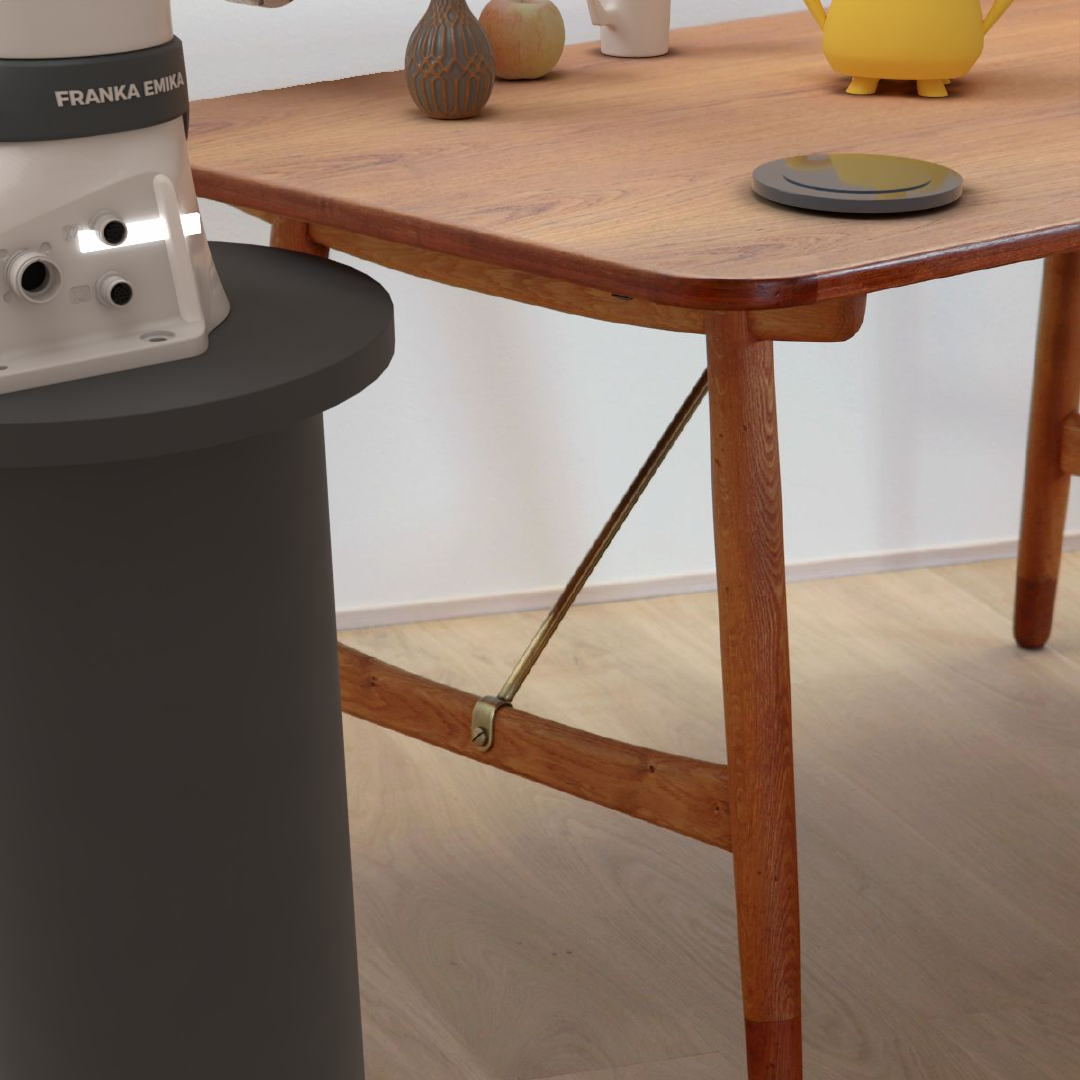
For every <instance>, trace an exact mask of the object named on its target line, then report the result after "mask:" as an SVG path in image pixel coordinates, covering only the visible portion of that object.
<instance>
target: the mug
mask: <svg viewBox="0 0 1080 1080" xmlns="http://www.w3.org/2000/svg"><path fill="white" fill-rule="evenodd" d="M671 2H672V0H586V5H587V9H588V14H589V17H590V22H591V24H592V25H593V26H597V27H599V29H600V30H599V33H600V34H599V35H600V51H601V53H602V54H603V55H606V56H610V57H617V58H618V57H619V58H651V57H657V56H664V55H666V54H667V53H668V52H669V45H670V43H669V42H670V28H671V27H670V25H671V8H672V7H671V5H672V3H671Z"/></svg>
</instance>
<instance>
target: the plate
mask: <svg viewBox="0 0 1080 1080" xmlns="http://www.w3.org/2000/svg"><path fill="white" fill-rule="evenodd" d="M963 187H964V178H963V176H962V175H961V174H960V173H959V172H958V171H956V170H954V169H953V168H950V167H947V166H945V165H942V164H939V163H936V162H931V161H926V160H922V159H916V158H911V157H904V156H895V155H887V154H886V155H885V154H872V153H846V152H845V153H844V152H843V153H842V152H841V153H840V152H839V153H815V154H803V155H795V156H789V157H783V158H778V159H774V160H769V161H767V162H765V163H762V164H760V165H758V166H756V167H755V168H754V169H753V170H752V173H751V189H752V190H753V191H754V192H755V193H756V194H757V195H759V196H761V197H763V198H764V199H767V200H769V201H771V202H775V203H779V204H782V205H786V206H791V207H795V208H801V209H807V210H814V211H815V210H816V211H821V212H822V211H823V212H834V213H835V212H836V213H849V214H851V213H852V214H891V213H905V212H906V213H907V212H916V211H923V210H928V209H934V208H938V207H941V206H945V205H948V204H951V203H953V202H955V201H957V200H958V199H959V198H960V197H961V196H962V194H963Z"/></svg>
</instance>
